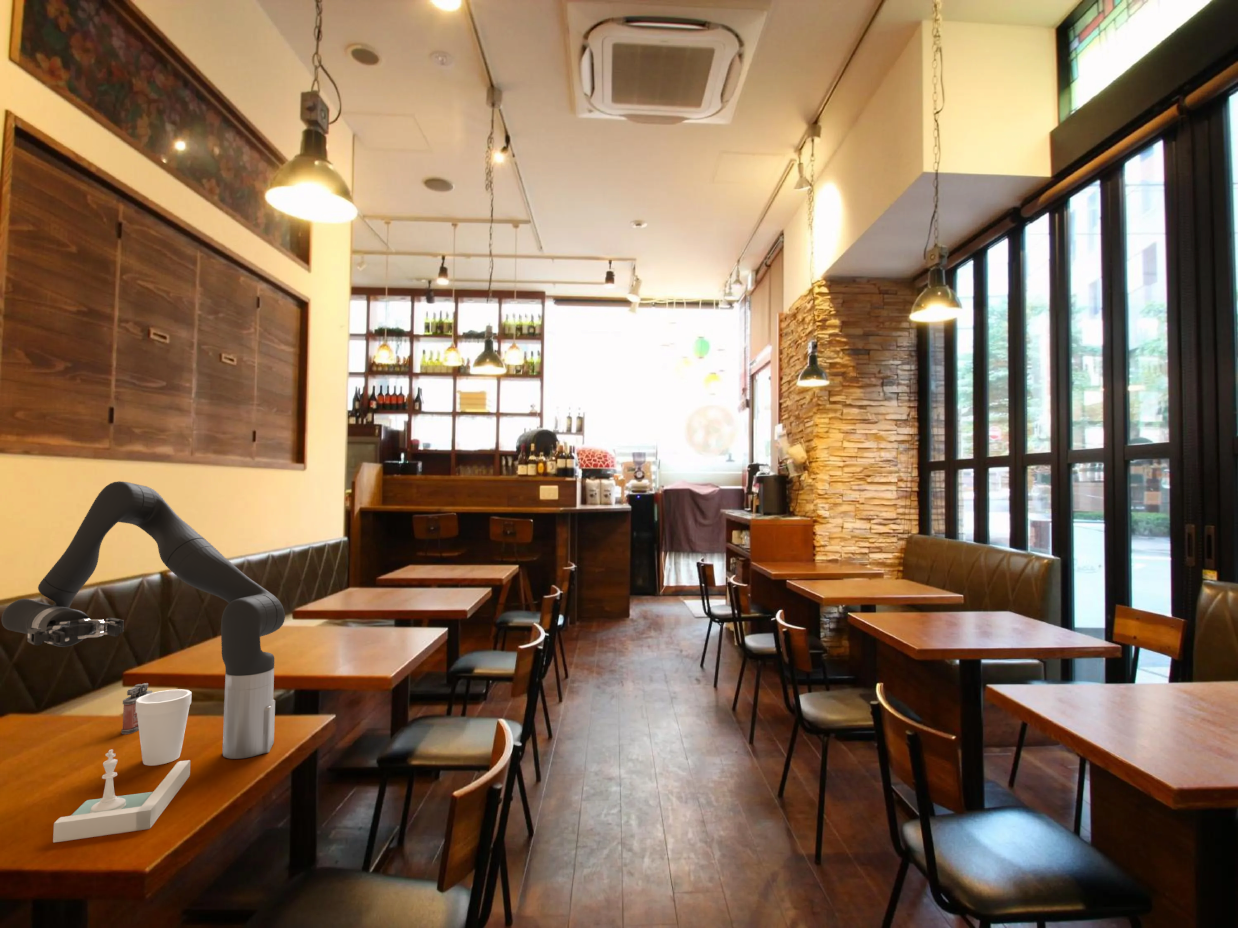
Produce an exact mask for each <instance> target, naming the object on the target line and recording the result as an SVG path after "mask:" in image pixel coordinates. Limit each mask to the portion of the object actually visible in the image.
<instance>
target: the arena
mask: <svg viewBox="0 0 1238 928" xmlns="http://www.w3.org/2000/svg"><path fill="white" fill-rule="evenodd" d="M190 776H191V760H190V759H188V760H186V759H185V760H180V761H177V762H176V764H175V765H174V766H173V768H172V769H171V770H170V771H169V772H168V774H167V775H166V776H165V777H164V779H162V780H161V782H160V783H159V785H157V786H156V788H155V789H154V791H149V792H147V791H146V792H141V793H133V794H126V795H116V796H117V798H124V799H125V800H126V805H125V807H123V808H122V809H118V810H110V811H103V812H96V813H90V811H91V807H92V806H93V805H94V804H96V803H98V802H100V800H101V799H102V798H103V797H101V798H95V799H86V801H84V802H83V803H82V804H81V805H80V806H79V807H78V808H77V809H76V810H75V811H74V812H73V813H72V814H71V815H67V816H59V818H58V819H57V820H56V821H54V823H53V835H52V842H53V843H60V842H61V843H62V842H67V841H73V840H80V839H88V838H93V837H94V838H95V837H102V836H107V835H108V836H110V835H116V834H124V833H129V832H136V831H142V830H150V829H151V828H152V827H153V826H154V824H155V823H156V822H157V820H158V819H159V818H160V816H161V815H162V813H163V812H164V811H165V809H166V808H167V807H168V805H169V804H170V803H171V801H172V800H174V797H175V796H176V795H177V793H178V792H179V791H180V790H181V788H182V787H183V786H184V785H185V783H186V781H188V779H189V777H190Z"/></svg>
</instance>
